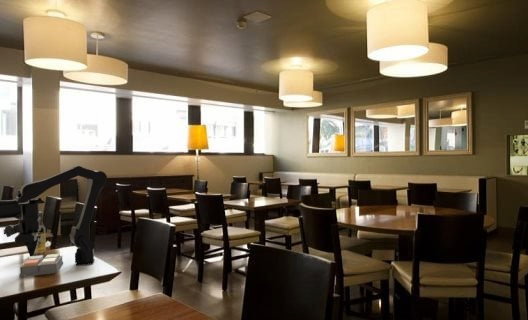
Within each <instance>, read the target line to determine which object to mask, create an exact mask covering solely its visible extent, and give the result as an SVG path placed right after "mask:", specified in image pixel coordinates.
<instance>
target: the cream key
mask: <svg viewBox="0 0 528 320" xmlns="http://www.w3.org/2000/svg"><path fill="white" fill-rule="evenodd" d="M56 262H57V258H47V259H44V260H43V261H42V262H41V265H46V264H55V263H56Z"/></svg>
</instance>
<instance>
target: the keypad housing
mask: <svg viewBox="0 0 528 320" xmlns="http://www.w3.org/2000/svg"><path fill="white" fill-rule="evenodd" d="M45 257H46V256H45ZM45 257H44V256H43V260H44V259H45ZM43 260H42V261H43ZM42 261H40V263H39V264H38V265H35V266H25V267H23V264H22V265H21V266H20V269H19V270H20V273H19V278H21V277H31V276H32V277H33V276H38V275H39V276H41V275H49V274H58V273H59V272H60V271H59V270H61V268H62V266H63V265H64V261H63V255H60V258H59V259H57V262H56V263H55V264H46V265H41V262H42Z"/></svg>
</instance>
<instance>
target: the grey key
mask: <svg viewBox="0 0 528 320" xmlns="http://www.w3.org/2000/svg"><path fill="white" fill-rule="evenodd" d="M43 257H44V256H43V255H40V256H31V257H30V256H29V258H28V259H27V260H36V259H40V261H42V260H43Z"/></svg>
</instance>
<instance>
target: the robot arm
mask: <svg viewBox="0 0 528 320" xmlns="http://www.w3.org/2000/svg"><path fill="white" fill-rule="evenodd" d="M77 177H81V178H84V179H85V180H86V179H87V192H86V197H85V201H84V203H83V206H82V207H83V208H82V210H81V214H80V216H79V220H78V223H77V225H76V226H74V225H73V226H71V231H70V234H69V237H70V238H69V239H70V242H71V243H72V244H74V246H75V247H76V251H75V253H74V259H75V261H74V263H75V266H84V265H93V264H94V263H95V252H94V251H95V247H96V243H94V242H93V241H91V240H90V235H91V228H90V225H91V221H92V218H93V215H94V211H95V208H96V204H97V201H98V197H99V194H100V192H101V190H102V189H103V188H104V187H105V184H106V182H107V179H108V175H107V174H106V172H104V171H102V170H93V169H88V168H85V167H82V166H81V165H80V166H79V165H74V166H73V167H71V168H69V169H66V170H64V171H62V172H59V173H56V174H55V175H52V176H51V175H50V177H47V178H44V179H40V180H35V181H31V182H27V183H25V184H23V185H22V186H21V188H20V190H19V191H20V192H19V193H18V195H16V197H15V198H14V199H9V200H4V199H3V200H0V220H4V219H13V218H17V217H18V216H19V215H21V219H20V220H18V221H19V222H18V223H16V224H13V225H12V224H10V225H7V226H5V227H4V229H3V235H6V237H7V238H10V237H11V236H14V235H16V234H17V235H16V236H15V238H14V243H15V244H24V245H25V247H26V249H27V253H28V254H29V257H30V256H33V255H34V253H35V251H36V249H37V246H38V244H39V242H40V239H41V237H42V236H38V234H37V233H38V232H42V233H45V234H46V231H47V230H46V226H45V225H44V226H43V225H42V226H40V224H39V220H41V217H39V212H40V204H46V203H45V201H44V200H43V199H42V198H41V196H40V195H42V194H44V193H45V192H46V191H47V190H49V189H50V188H51V189H52V188H54V187H55V186H57V185H60V184H62V183H65V182H67V181H69V180H71V179H73V178H74V179H75V178H77Z"/></svg>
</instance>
